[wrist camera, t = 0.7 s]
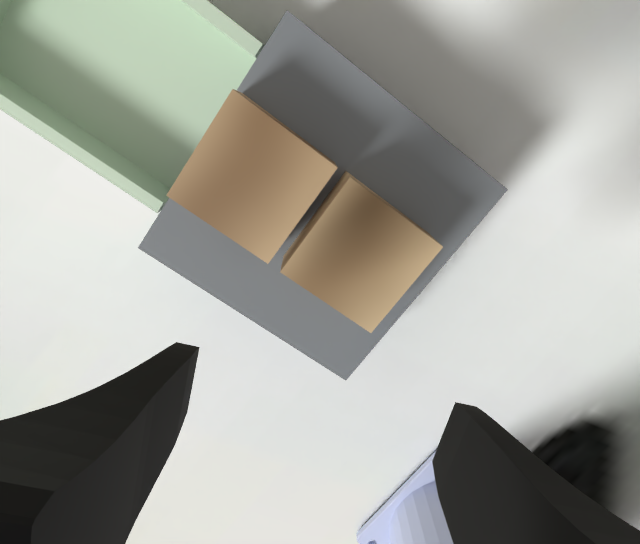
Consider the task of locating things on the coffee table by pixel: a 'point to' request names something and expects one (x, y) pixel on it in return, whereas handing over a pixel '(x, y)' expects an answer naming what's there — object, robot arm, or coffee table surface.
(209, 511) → the coffee table surface
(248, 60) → the tray
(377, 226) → the oak tile
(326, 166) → the oak tile
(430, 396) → the coffee table surface
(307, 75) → the grey flat block
